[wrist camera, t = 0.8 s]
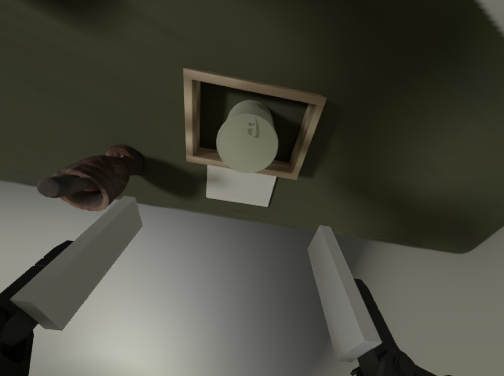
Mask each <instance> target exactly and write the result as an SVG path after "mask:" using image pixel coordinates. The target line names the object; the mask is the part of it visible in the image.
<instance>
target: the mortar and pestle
mask: <svg viewBox="0 0 504 376" xmlns="http://www.w3.org/2000/svg"><path fill="white" fill-rule="evenodd" d="M142 169H143V160H142V159H141V157H140V156H139V154H138V153H137V152H136V151H135V150H134V149H132V148H130V147H128V146H126V145H116V146H113V147H112V148H110V149H109V150H108V152H107V154H106V155H99V156H92V157H88V158H85V159H82V160H80V161H78V162H76V163H74V164H72V165H69V166H67V167H65V168H63V169H61V170H59V171H57V172H56V173H54V174H53V176H52V177H48V178H45V179H43V180H41V181H39V183H38V185H37V189H38V191H39V192H40V193H41V194H42V195H44V196H46V197H51V198H58V197H60V198H61V199H63V200H64V201H66V202H67V203H69V204H70V205H72V206H74V207H77V208H80V209H83V210H88V211H99V210H102V209H105V208H106V207H107V206H108V205H109V204H111V202H112V201H113V200H114V199H115V198H116V197H117V196H119V195H120V194H121V193H122V192H123V190H124V189H125V187H126V185H127V183H128V181H129V176H132V175H136V174H138V173H140V172H141V171H142Z"/></svg>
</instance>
